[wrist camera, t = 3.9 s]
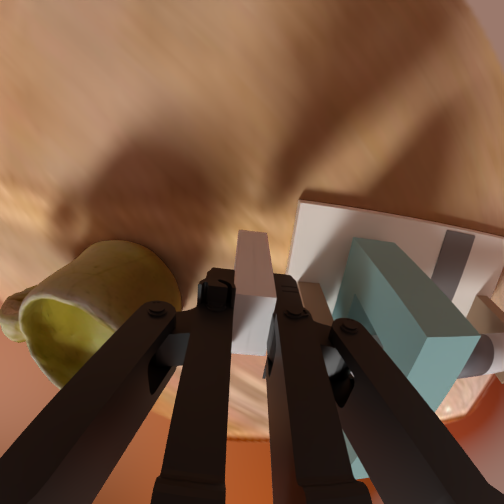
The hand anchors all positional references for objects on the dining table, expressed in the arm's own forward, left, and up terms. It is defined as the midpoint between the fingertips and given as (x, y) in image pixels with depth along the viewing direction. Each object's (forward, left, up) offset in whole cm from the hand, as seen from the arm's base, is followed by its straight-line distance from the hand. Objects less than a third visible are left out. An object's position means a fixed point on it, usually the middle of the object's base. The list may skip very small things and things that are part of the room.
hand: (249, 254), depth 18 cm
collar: (+4, +8, -2) cm, 9 cm away
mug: (+5, -10, -4) cm, 12 cm away
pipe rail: (+4, +12, -3) cm, 14 cm away
